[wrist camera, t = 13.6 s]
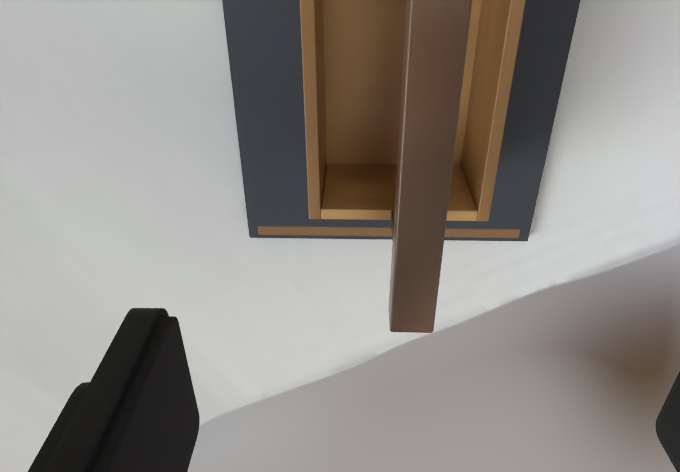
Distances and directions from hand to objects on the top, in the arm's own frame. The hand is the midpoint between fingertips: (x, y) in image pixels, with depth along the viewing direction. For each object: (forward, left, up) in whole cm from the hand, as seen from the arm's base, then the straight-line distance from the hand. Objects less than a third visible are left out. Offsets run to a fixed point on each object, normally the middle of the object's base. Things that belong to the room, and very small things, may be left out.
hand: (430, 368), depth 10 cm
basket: (+1, 0, -22) cm, 22 cm away
